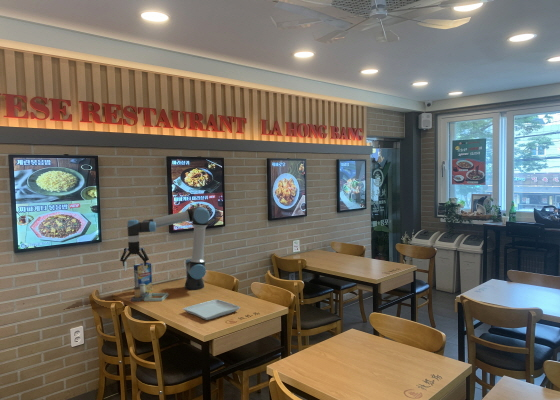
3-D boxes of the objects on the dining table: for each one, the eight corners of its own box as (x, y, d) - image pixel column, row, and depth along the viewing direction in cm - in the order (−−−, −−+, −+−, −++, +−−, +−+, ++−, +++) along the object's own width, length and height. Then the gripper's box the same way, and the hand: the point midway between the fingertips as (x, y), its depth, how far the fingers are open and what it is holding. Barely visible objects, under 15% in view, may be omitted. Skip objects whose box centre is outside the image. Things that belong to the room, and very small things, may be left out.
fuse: (146, 295, 302) (145, 283, 302) (144, 296, 298) (143, 284, 298) (141, 295, 303) (140, 283, 302) (138, 297, 299) (138, 284, 298)
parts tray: (168, 296, 300) (168, 292, 300) (162, 301, 287) (162, 298, 287) (151, 296, 301) (151, 293, 301) (144, 301, 288) (143, 298, 288)
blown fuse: (141, 298, 294) (141, 286, 293) (139, 300, 290) (138, 288, 289) (136, 298, 294) (135, 286, 294) (133, 300, 290) (133, 288, 289)
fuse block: (149, 295, 304) (149, 292, 304) (140, 302, 288) (140, 298, 288) (140, 295, 304) (139, 292, 304) (131, 302, 289) (130, 298, 289)
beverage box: (134, 293, 311) (133, 264, 310) (148, 290, 319) (147, 262, 317) (138, 294, 306) (137, 266, 305) (152, 291, 314) (151, 263, 312)
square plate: (241, 312, 262) (241, 306, 262) (205, 323, 243) (205, 317, 243) (216, 303, 281) (216, 298, 281) (182, 313, 262) (181, 307, 262)
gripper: (152, 240, 295) (153, 269, 296) (118, 240, 296) (120, 269, 297) (149, 241, 287) (150, 271, 289) (114, 242, 288) (115, 272, 290)
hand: (135, 270), depth 293 cm, fingers open, 13 cm apart
